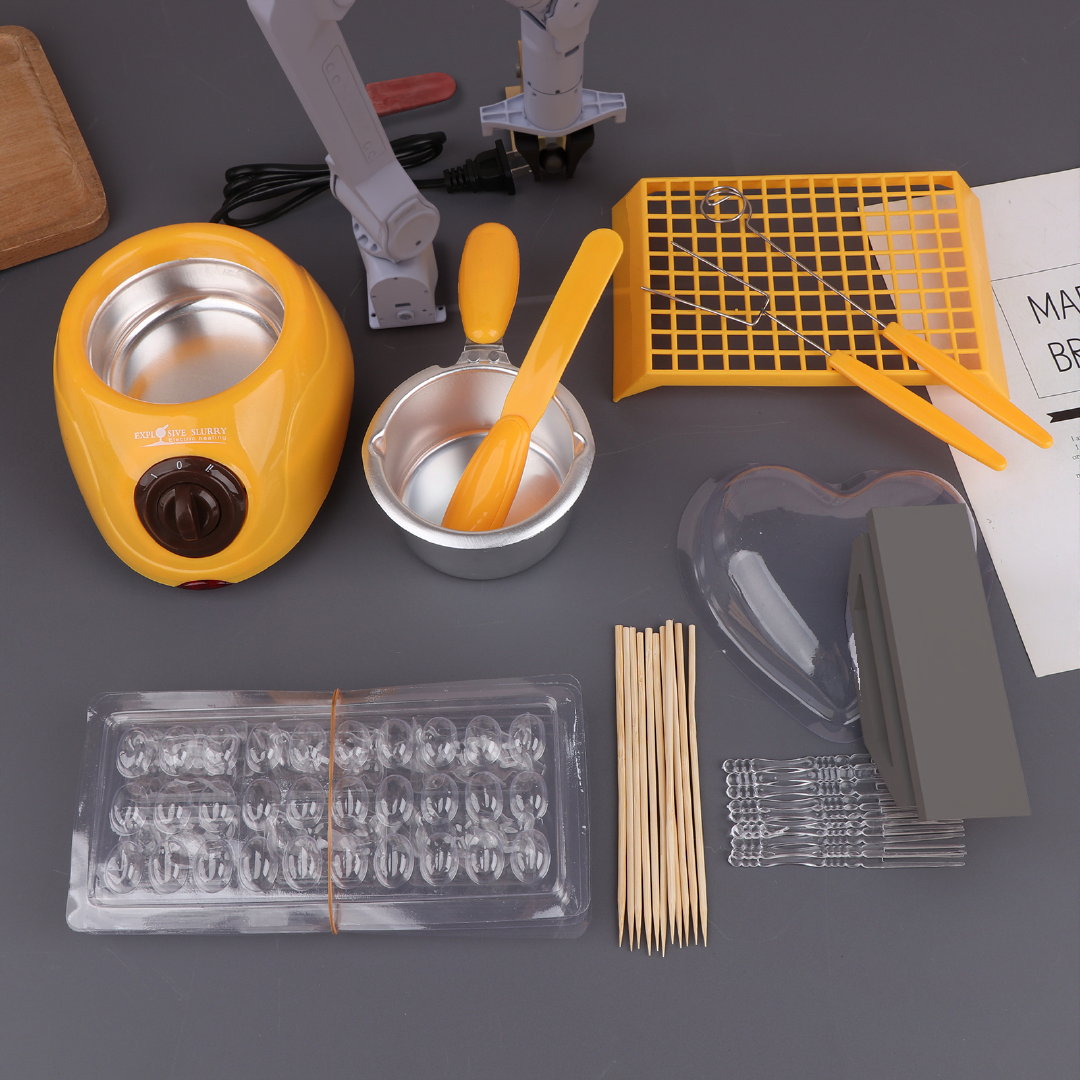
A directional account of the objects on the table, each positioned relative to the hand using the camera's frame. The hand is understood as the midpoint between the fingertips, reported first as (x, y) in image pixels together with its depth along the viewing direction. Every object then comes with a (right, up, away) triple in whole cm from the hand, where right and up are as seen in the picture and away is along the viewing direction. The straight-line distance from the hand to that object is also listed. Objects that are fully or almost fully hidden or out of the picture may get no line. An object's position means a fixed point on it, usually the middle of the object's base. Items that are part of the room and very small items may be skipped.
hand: (553, 172), depth 97 cm
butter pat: (-1, +5, +2) cm, 5 cm away
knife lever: (-1, +5, -1) cm, 6 cm away
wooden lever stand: (-1, +7, +4) cm, 8 cm away
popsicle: (-18, +10, +6) cm, 22 cm away
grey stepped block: (+31, -53, -16) cm, 63 cm away
